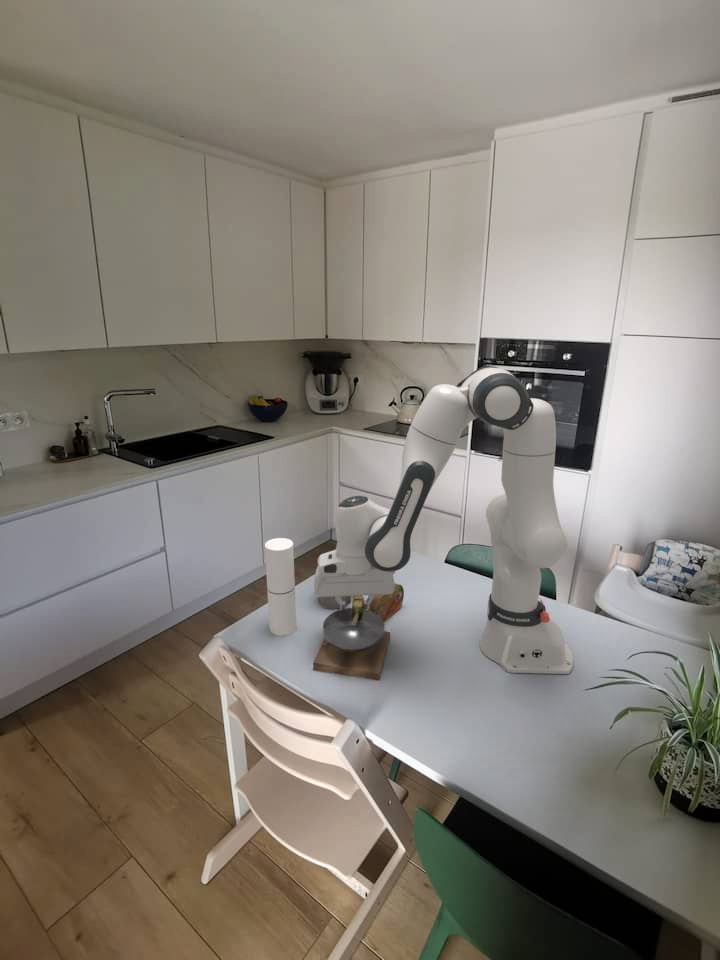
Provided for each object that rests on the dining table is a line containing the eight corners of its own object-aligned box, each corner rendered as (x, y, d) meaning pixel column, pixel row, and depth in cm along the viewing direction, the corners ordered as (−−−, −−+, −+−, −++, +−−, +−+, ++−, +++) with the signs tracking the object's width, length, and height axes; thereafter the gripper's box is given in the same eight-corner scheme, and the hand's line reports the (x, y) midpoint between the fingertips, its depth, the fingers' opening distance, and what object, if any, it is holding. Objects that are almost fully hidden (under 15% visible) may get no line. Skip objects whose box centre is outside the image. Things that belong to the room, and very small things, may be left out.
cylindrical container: (264, 631, 133) (259, 547, 124) (278, 617, 139) (274, 536, 131) (287, 638, 130) (284, 552, 122) (301, 623, 136) (298, 540, 128)
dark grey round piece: (380, 655, 114) (380, 633, 112) (316, 647, 117) (316, 626, 115) (387, 617, 128) (387, 597, 126) (330, 611, 131) (330, 591, 129)
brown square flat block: (390, 638, 130) (390, 619, 128) (379, 680, 116) (379, 659, 114) (331, 629, 134) (331, 610, 132) (313, 669, 119) (312, 648, 117)
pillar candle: (332, 588, 154) (331, 544, 149) (357, 598, 148) (357, 553, 143) (311, 602, 146) (309, 557, 141) (337, 613, 141) (336, 567, 136)
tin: (374, 630, 134) (374, 603, 131) (364, 626, 135) (365, 599, 133) (404, 605, 145) (405, 580, 142) (395, 602, 147) (396, 577, 144)
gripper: (394, 552, 126) (393, 600, 130) (313, 555, 125) (315, 603, 129) (397, 564, 120) (396, 614, 125) (312, 567, 119) (314, 617, 123)
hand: (354, 608), depth 127 cm, fingers open, 5 cm apart
